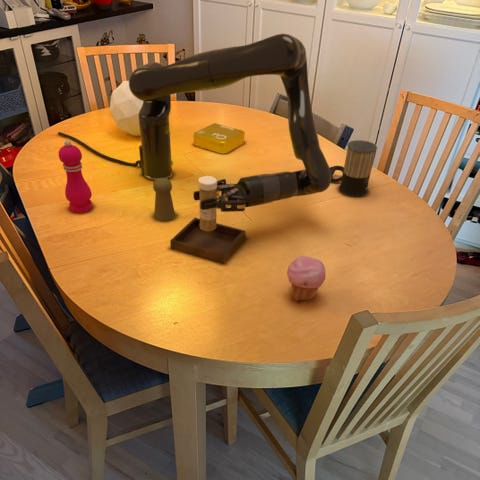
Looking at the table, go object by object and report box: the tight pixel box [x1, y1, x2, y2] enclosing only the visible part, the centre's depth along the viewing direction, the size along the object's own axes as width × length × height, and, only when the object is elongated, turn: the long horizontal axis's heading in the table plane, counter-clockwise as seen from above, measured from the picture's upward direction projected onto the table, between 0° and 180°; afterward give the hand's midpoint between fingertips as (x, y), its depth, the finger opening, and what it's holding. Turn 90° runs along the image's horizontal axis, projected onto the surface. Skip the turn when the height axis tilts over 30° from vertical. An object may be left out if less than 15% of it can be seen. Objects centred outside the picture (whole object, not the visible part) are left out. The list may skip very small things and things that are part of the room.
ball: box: [109, 80, 143, 137], centre depth 177 cm, size 19×20×20 cm
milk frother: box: [329, 139, 378, 197], centre depth 150 cm, size 14×16×15 cm
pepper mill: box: [58, 139, 93, 214], centre depth 131 cm, size 7×7×20 cm
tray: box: [169, 217, 247, 265], centre depth 125 cm, size 16×14×2 cm
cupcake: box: [286, 255, 326, 302], centre depth 107 cm, size 9×9×10 cm
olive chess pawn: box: [152, 178, 176, 222], centre depth 132 cm, size 6×6×11 cm
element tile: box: [193, 122, 246, 155], centre depth 177 cm, size 15×15×5 cm
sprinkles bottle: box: [197, 175, 218, 231], centre depth 118 cm, size 5×5×14 cm
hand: (197, 200), depth 116 cm, fingers closed on sprinkles bottle, 4 cm apart
